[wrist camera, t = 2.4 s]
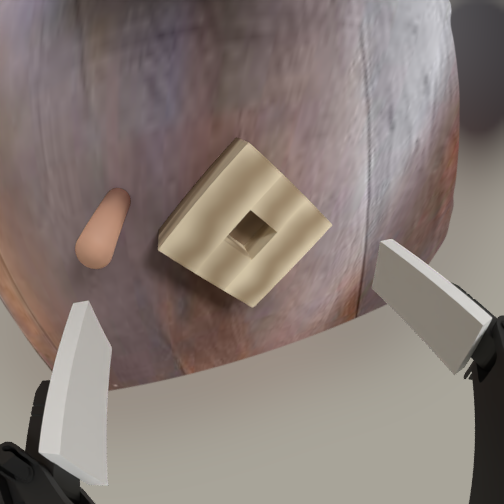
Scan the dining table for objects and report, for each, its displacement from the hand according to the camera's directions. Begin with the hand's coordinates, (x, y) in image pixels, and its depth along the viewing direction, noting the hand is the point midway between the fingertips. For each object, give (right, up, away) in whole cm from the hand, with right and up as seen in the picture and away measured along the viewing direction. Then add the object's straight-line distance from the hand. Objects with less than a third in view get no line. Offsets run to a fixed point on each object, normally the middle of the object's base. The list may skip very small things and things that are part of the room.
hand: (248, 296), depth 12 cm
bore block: (-2, +7, +28) cm, 29 cm away
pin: (-17, +8, +22) cm, 29 cm away
